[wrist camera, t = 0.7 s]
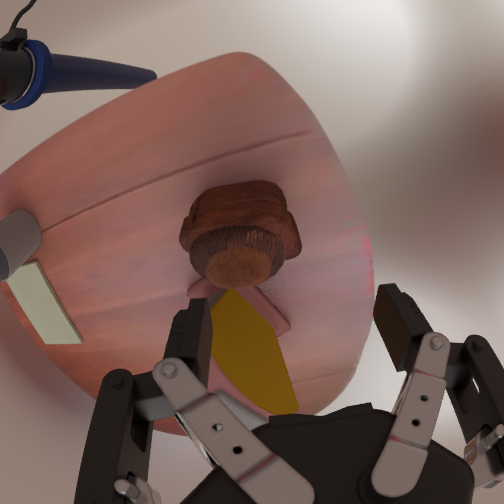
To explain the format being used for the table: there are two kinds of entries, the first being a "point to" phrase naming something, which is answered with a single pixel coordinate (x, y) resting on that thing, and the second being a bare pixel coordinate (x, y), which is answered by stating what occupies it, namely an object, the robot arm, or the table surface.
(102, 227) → the table surface
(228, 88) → the table surface
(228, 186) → the wooden figurine
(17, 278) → the mat
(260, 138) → the table surface
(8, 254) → the cup
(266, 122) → the table surface
